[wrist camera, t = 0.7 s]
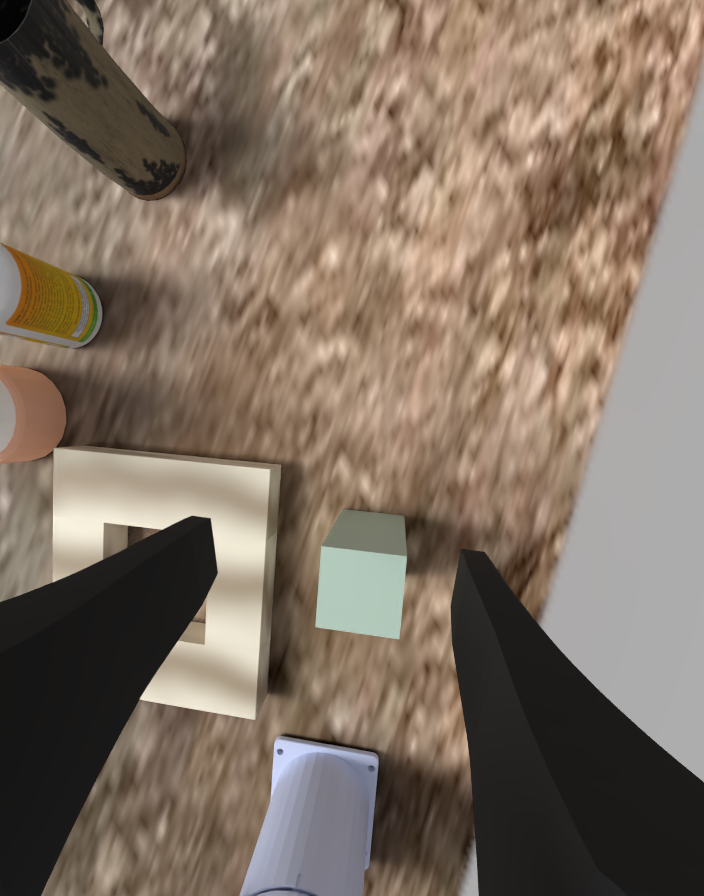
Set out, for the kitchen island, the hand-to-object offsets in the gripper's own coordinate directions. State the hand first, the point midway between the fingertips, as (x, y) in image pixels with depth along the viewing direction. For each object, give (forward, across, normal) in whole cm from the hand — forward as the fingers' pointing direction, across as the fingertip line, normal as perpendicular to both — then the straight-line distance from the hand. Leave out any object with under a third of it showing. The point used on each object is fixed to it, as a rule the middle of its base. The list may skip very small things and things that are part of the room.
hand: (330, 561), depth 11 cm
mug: (+22, +18, -16) cm, 33 cm away
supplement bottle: (+18, +24, -5) cm, 31 cm away
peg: (+14, 0, +10) cm, 17 cm away
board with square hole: (+12, +15, +13) cm, 24 cm away
